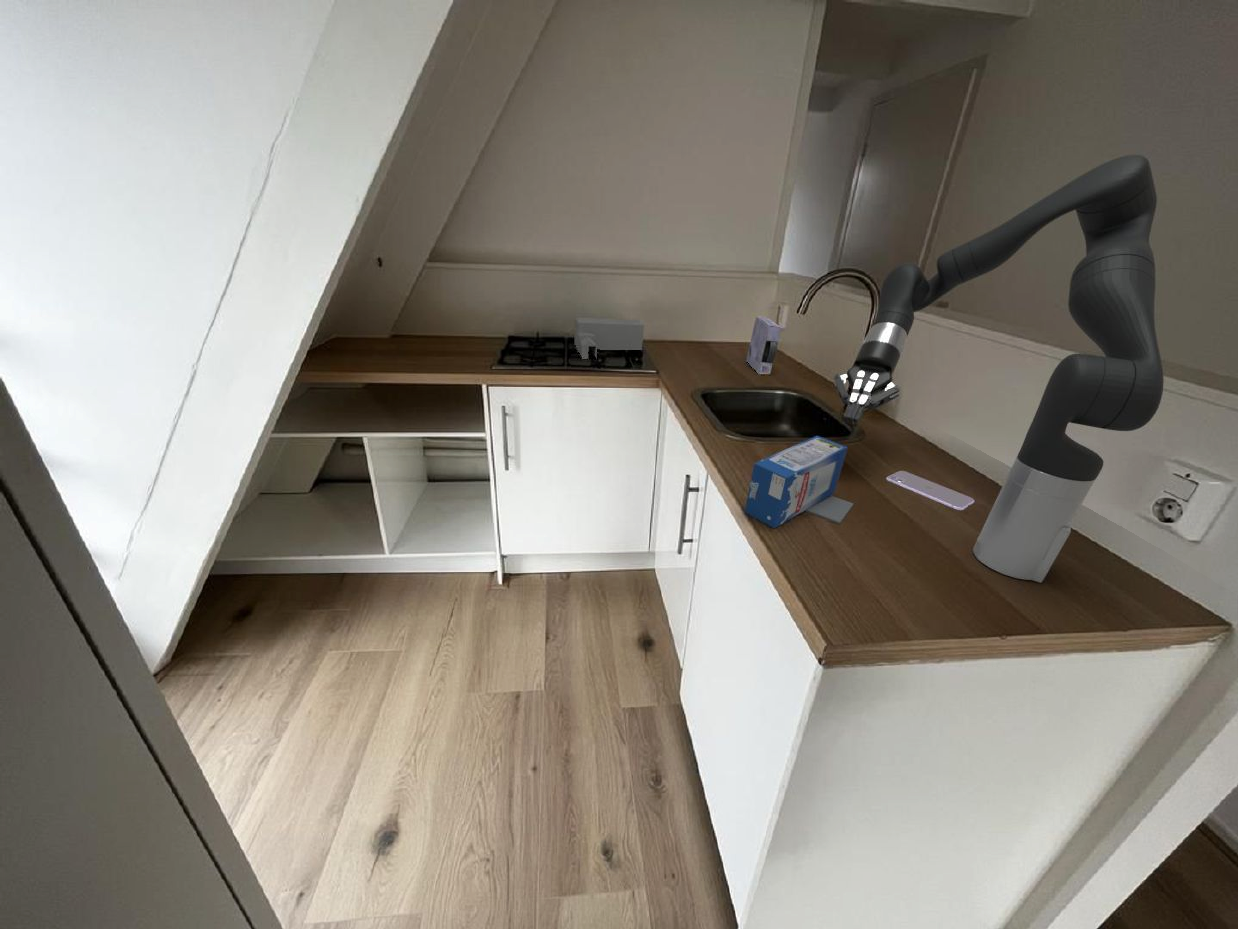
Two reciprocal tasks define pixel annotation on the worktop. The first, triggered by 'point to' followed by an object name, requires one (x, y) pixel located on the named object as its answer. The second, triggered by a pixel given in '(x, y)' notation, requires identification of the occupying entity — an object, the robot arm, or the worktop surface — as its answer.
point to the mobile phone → (931, 490)
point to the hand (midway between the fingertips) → (849, 422)
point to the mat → (831, 509)
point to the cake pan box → (763, 345)
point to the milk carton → (794, 480)
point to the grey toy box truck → (607, 335)
